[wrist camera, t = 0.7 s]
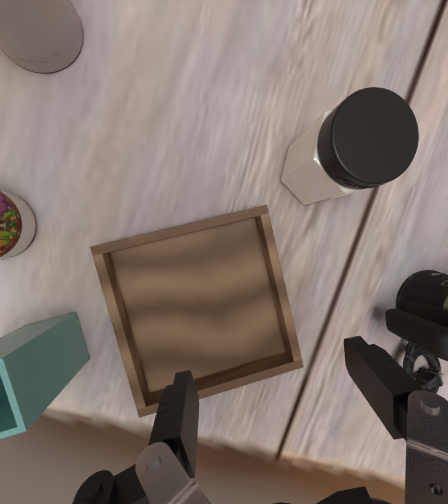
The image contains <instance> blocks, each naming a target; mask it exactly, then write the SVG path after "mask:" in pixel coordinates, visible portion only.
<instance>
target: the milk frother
mask: <svg viewBox="0 0 448 504" xmlns="http://www.w3.org/2000/svg"><path fill="white" fill-rule="evenodd" d="M397 305H398V310H397V309H390V310H387V311H386V313H385V319H386V326H387V328H388V330H389V331H391V332H392V333H394V334H396V335H398V336H400V337H401V338H403V339H405V340H407V341H409V342H408V346H407V349H406V353H405V357H404V361H403V369H404V370H405V371H406V372H407V373H408V374H409V375H410V376H411V377H412V378H413V369H414V363H415V361H416V359H417V358H418V357H419V356H420V355H424V356H426V357H427V358H428V359H429V361H430V362H431V365H432V367H433V371H430V370H426V369H419V372H420V373H419V374H418V375H417V377H416V382H417V383H418V384H419V385H420V386H421V387H422V388H423V389H424V390H425V391H430V392H433V393H437V391H438V389H439V386H442V385H443V382H442V378H441V376H443V375H444V373H443V372H441V370H440V369H441V366H440V362H439V359H438V357H439V358H441V359H443V360H446V361H448V275H446V274H443V273H440V272H437V271H433V270H425V271H421V272H418V273H416V274H414V275H412V276H411V277H410V278H409V279H408V280H407V281H406V282H405V283H404V284H403V286H402V288H401V290H400V293H399V296H398V301H397ZM415 345H416V346H415ZM414 346H415V347H414ZM413 379H414V378H413Z"/></svg>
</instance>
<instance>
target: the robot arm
mask: <svg viewBox="0 0 448 504" xmlns="http://www.w3.org/2000/svg"><path fill="white" fill-rule="evenodd" d="M82 42H83V28H82V24H81V21H80V18H79V16H78V14H77V12H76V10H75V8H74V6H73V4H72V2H71V0H0V49H1V50H2V51H3V52H4V53H5V54H6V55H7V56H8V57H9V58H10V59H11V60H13V61H14V62H15V63H16V64H18V65H19V66H21V67H23V68H25V69H27V70H30V71H33V72H40V73H50V72H55V71H59V70H61V69H63V68H65V67H67V66H68V65H69V64H71V63H72V62H73V61H74V60H75V58H76V57H77V55H78V54H79V52H80V49H81V47H82ZM344 352H345V363H346V367H347V370H348V373H349V375H350V376H351V378H352V379H353V381H354V382H355V384H356V385H357V387H358V388H359V390H360V391H361V392H362V394H363V395H364V397H365V398H366V400H367V401H368V403H369V404H370V406H371V407H372V408H373V410H374V411H375V413H376V414H377V416H378V417H379V419H380V420H381V422H382V423H383V424H384V426H385V427H386V429H387V430H388V432H389V433H390V435H391V436H392V437H393V439H394V440H395V439H400V438H404V439H405V441H406V471H405V504H448V401H447V400H446V399H445V398H443V397H441V396H440V395H438V394H436V393H433V392H430V391H425V390H424V389H423V388H422V387H421V386H420V385H419V384H418V383H417V382H416V381H415V380H414V379H413V378H412V377H411V376H410V375H409V374H408V373H407V372H406V371H405V370H404V369H403V368H402V367H401V366H399V364H398V363H397V362H396V361H395V360H394V359H393V358H392V357H391V356H390V355H389V354H388V353H387V352H386V351H385V350H384V349H382V348H380V347H379V346H377V345H375V344H371V345H368V344H367V343H366V342H365V340H364V339H363V338H362V337H361V336H355V337H351V338H346V339H344ZM198 417H199V397H198V392H197V389H196V386H195V382H194V379H193V376H192V372H191V370H187V371H182V372H177V373H176V374H175V378H174V383H173V384H172V385H167V386H166V388H165V389H164V391H163V392H162V394H161V396H160V400H159V406H158V408H157V414H156V417H155V421H154V425H153V429H152V433H151V437H150V441H149V446H148V447H147V448H146V449H145V450H143V452H142V453H141V454H140V456H139V457H138V460H137V462H136V464H134V465H133V466H131V467H130V468H128V469H126V470H125V471H123V472H121V473H119V474H117V475H115V476H113V475H112V473H111V472H110V471H107V470H103V471H99V472H96V473H94V474H93V475H91V476H90V477H89V478H88V479H87V480H86V481H85V482H84V483H83V484H82V485H81V487H80V488H79V490H78V491H77V493H76V496H75V498H74V501H73V503H72V504H211V503H210V501H209V500H208V498H207V497H206V496H205V494H204V493H203V491H202V490H201V488H200V487H199V485H198V484H197V483H196V482H194V483H193V482H192V481H191V479H190V478H194V477H195V465H196V449H197V433H198ZM275 504H289V503H281V502H280V503H275ZM317 504H391V503H389V502H386V501H384V500H380V499H377V498H371V497H370V496H369V494H368V492H367V490H366V488H365V487H364V486H363V487H358V488H353V489H348V490H343V491H338V492H336V493H334V494H332V495H330V496H329V497H327V498H325V499H324V500H322V501H320V502H318V503H317Z"/></svg>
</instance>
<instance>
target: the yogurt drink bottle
mask: <svg viewBox="0 0 448 504" xmlns="http://www.w3.org/2000/svg"><path fill="white" fill-rule="evenodd" d="M35 228H36V224H35V218H34V216H33V213H32V211H31V210H30V208H29V207H28V205H27V204H26V203H25V202H24V201H23V200H22V199H20V198H19V197H17V196H15V195H13V194H11V193H8V192H5V191H1V190H0V259H2V258H8V257H12V256H15V255H17V254H19V253H20V252H22V251H23V250H24V249H26V248H27V246H28V245H29V244H30V243H31V241H32V239H33V237H34V234H35Z"/></svg>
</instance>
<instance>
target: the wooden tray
mask: <svg viewBox="0 0 448 504" xmlns="http://www.w3.org/2000/svg"><path fill="white" fill-rule="evenodd" d="M90 248H91V252H92V255H93V259H94V262H95V266H96V269H97V273H98V276H99V280H100V283H101V287H102V290H103V293H104V297H105V300H106V304H107V307H108V311H109V314H110V318H111V321H112V325H113V328H114V332H115V335H116V339H117V342H118V346H119V349H120V353H121V356H122V360H123V363H124V367H125V370H126V373H127V377H128V380H129V384H130V387H131V391H132V394H133V398H134V401H135V405H136V408H137V412H138V415H139V418H140V417H143V416H146V415H150V414H153V413H156V412H157V408H158V406H159V400H160V396H161V394H162V392H163V391H164V389H165V388H166V386H167V385H172V384H173V383H174V378H175V374H176V373H177V372H182V371H187V370H191V372H192V376H193V379H194V382H195V386H196V389H197V392H198V397H199V399H201V398H205V397H208V396H211V395H214V394H218V393H221V392H224V391H227V390H231V389H234V388H237V387H240V386H244V385H247V384H250V383H253V382H257V381H260V380H263V379H266V378H270V377H273V376H276V375H279V374H282V373H286V372H289V371H292V370H295V369H299V368H302V367H304V366H303V362H302V358H301V353H300V349H299V344H298V340H297V336H296V331H295V327H294V322H293V318H292V314H291V309H290V305H289V301H288V296H287V292H286V287H285V283H284V279H283V274H282V270H281V265H280V261H279V257H278V252H277V248H276V244H275V239H274V235H273V230H272V226H271V222H270V217H269V213H268V208H267V205H264V206H260V207H256V208H252V209H247V210H243V211H239V212H235V213H231V214H226V215H222V216H218V217H214V218H210V219H205V220H201V221H197V222H193V223H189V224H185V225H180V226H176V227H172V228H168V229H164V230H159V231H155V232H151V233H147V234H143V235H139V236H134V237H130V238H126V239H122V240H118V241H113V242H109V243H105V244H101V245H97V246H92V247H90Z"/></svg>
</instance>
